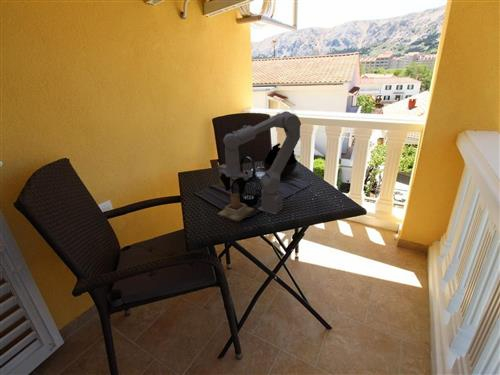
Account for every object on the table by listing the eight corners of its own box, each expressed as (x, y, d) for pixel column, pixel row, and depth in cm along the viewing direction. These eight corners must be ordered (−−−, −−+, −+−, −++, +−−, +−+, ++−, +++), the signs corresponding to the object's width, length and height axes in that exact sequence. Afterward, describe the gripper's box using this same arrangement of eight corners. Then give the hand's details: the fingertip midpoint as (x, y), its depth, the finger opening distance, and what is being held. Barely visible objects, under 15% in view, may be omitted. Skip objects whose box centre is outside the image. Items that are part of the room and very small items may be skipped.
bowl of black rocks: (290, 184, 147) (291, 152, 139) (258, 180, 155) (256, 149, 148) (300, 172, 163) (301, 143, 156) (270, 169, 172) (270, 140, 164)
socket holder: (254, 210, 122) (254, 203, 120) (238, 221, 113) (238, 215, 111) (234, 204, 128) (233, 198, 127) (217, 214, 119) (217, 208, 118)
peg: (242, 210, 120) (241, 194, 117) (236, 214, 117) (235, 198, 114) (235, 208, 123) (234, 192, 119) (229, 211, 120) (228, 195, 117)
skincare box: (219, 186, 150) (217, 165, 145) (225, 183, 153) (223, 163, 148) (226, 189, 146) (224, 168, 141) (232, 186, 148) (230, 166, 143)
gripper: (213, 162, 112) (216, 191, 117) (240, 168, 104) (242, 199, 109) (224, 158, 117) (226, 186, 122) (250, 163, 109) (252, 192, 115)
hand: (234, 192), depth 116 cm, fingers open, 7 cm apart
